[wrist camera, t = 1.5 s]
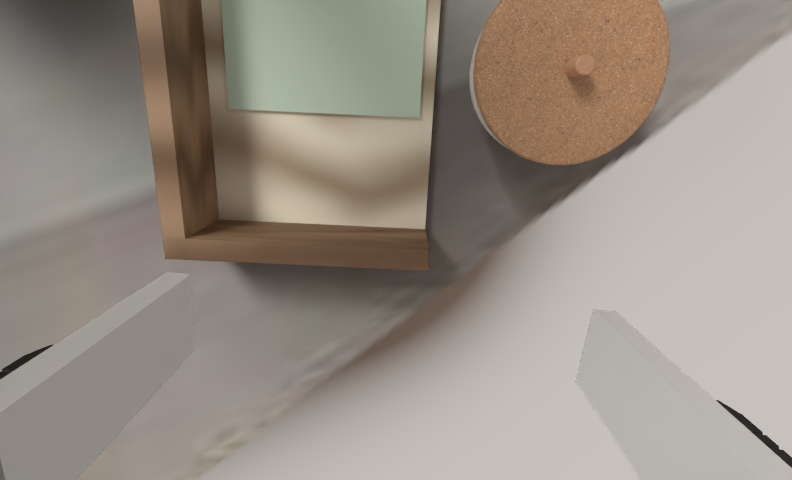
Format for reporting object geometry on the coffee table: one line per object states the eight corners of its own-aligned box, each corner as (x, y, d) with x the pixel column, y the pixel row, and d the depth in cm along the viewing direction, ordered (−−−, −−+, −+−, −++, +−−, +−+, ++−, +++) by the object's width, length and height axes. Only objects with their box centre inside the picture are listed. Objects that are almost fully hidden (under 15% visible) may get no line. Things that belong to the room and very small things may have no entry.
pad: (214, -121, 26) (212, -124, 26) (432, -110, 26) (433, -113, 26) (230, 109, 30) (228, 108, 30) (419, 117, 30) (419, 118, 30)
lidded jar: (634, 75, 30) (735, 57, 21) (525, 183, 32) (573, 209, 23) (535, -39, 28) (600, -113, 19) (426, 85, 30) (438, 71, 21)
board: (169, -156, 26) (163, -162, 25) (449, -142, 26) (450, -148, 25) (205, 234, 34) (202, 236, 33) (423, 244, 34) (423, 246, 33)
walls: (169, -156, 26) (103, -233, 20) (449, -142, 26) (463, -215, 20) (205, 234, 34) (165, 258, 28) (423, 244, 34) (428, 270, 28)
